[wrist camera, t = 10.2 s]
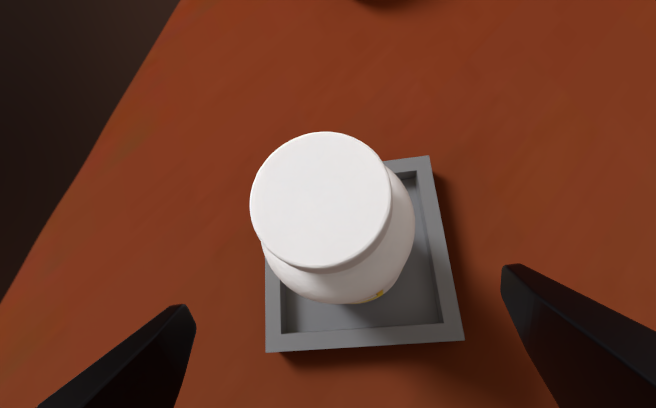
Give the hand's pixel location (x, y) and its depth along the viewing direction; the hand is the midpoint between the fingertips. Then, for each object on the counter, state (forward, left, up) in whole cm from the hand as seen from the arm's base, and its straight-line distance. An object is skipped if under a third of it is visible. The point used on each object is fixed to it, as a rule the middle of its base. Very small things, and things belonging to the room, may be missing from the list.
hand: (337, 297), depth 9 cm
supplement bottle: (+3, 0, -13) cm, 13 cm away
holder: (+3, 0, -13) cm, 14 cm away
